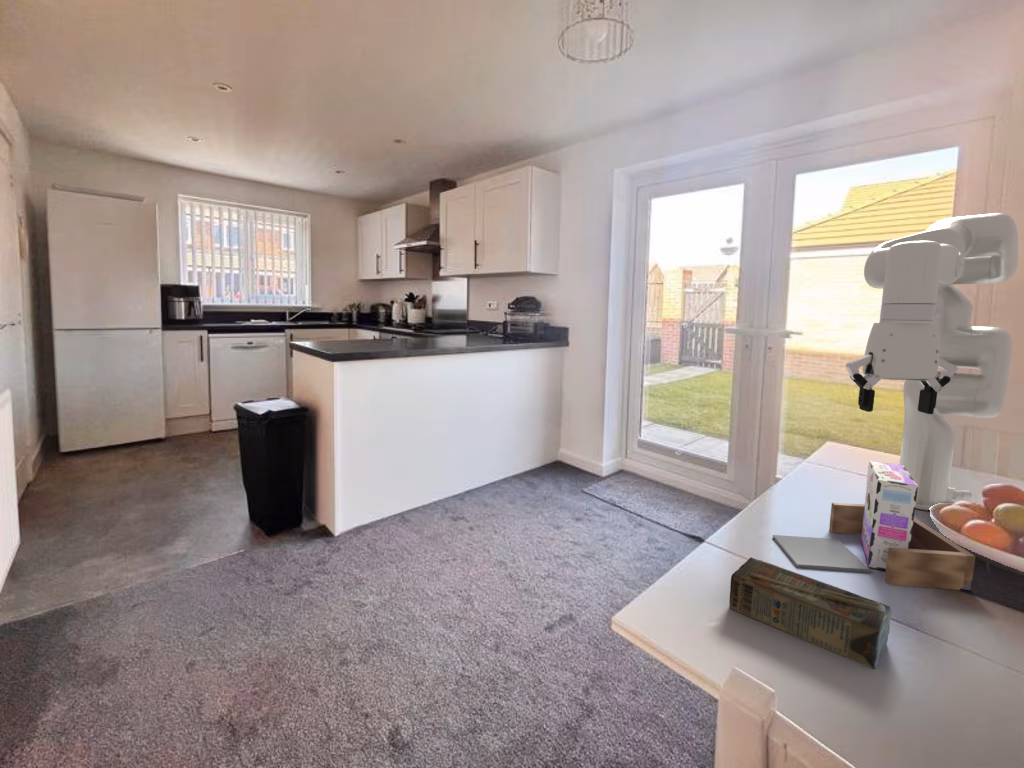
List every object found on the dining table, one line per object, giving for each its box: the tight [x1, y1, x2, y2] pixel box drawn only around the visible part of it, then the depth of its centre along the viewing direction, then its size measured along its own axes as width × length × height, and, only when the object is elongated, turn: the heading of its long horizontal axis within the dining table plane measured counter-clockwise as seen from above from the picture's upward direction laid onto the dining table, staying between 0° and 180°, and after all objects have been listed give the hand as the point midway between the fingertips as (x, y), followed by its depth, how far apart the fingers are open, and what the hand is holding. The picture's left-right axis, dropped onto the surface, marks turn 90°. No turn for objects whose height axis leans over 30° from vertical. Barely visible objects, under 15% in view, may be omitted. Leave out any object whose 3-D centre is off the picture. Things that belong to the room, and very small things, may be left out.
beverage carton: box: [728, 557, 893, 670], centre depth 73 cm, size 8×19×7 cm, turn 45°
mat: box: [772, 534, 872, 574], centre depth 95 cm, size 12×12×1 cm
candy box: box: [860, 460, 918, 572], centre depth 93 cm, size 14×6×16 cm, turn 150°
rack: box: [828, 502, 976, 591], centre depth 93 cm, size 12×21×6 cm, turn 171°
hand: (895, 411), depth 90 cm, fingers open, 9 cm apart
